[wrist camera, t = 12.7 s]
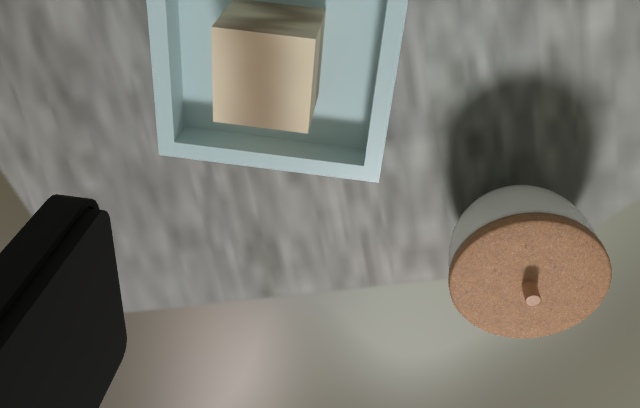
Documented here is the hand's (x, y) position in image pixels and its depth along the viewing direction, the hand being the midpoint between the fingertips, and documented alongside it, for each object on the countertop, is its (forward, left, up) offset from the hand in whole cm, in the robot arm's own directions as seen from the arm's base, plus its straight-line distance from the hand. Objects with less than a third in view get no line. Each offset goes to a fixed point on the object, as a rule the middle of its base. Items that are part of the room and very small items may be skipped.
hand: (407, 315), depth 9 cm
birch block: (+7, +8, -32) cm, 34 cm away
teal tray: (+7, +8, -33) cm, 35 cm away
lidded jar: (-12, +20, -34) cm, 41 cm away
